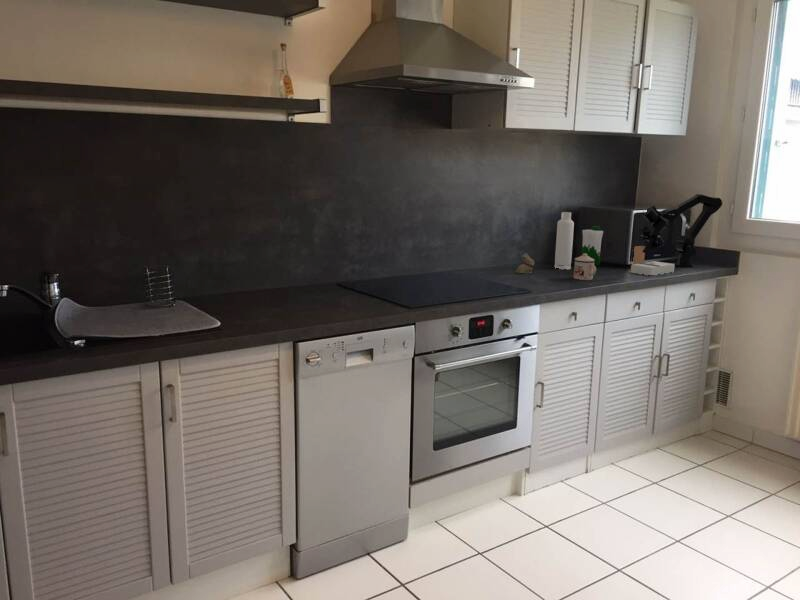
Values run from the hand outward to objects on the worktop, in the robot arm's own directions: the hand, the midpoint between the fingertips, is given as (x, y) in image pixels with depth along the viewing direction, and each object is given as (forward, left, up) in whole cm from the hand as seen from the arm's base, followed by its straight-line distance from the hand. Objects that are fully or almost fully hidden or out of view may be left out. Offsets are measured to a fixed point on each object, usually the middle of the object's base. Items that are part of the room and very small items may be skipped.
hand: (636, 251), depth 332 cm
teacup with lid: (+37, +34, -9) cm, 51 cm away
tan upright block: (-1, 0, -9) cm, 9 cm away
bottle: (+39, +4, -9) cm, 40 cm away
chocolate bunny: (+62, +20, -9) cm, 65 cm away
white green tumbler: (+21, -8, -9) cm, 24 cm away
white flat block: (-3, +14, -9) cm, 17 cm away
